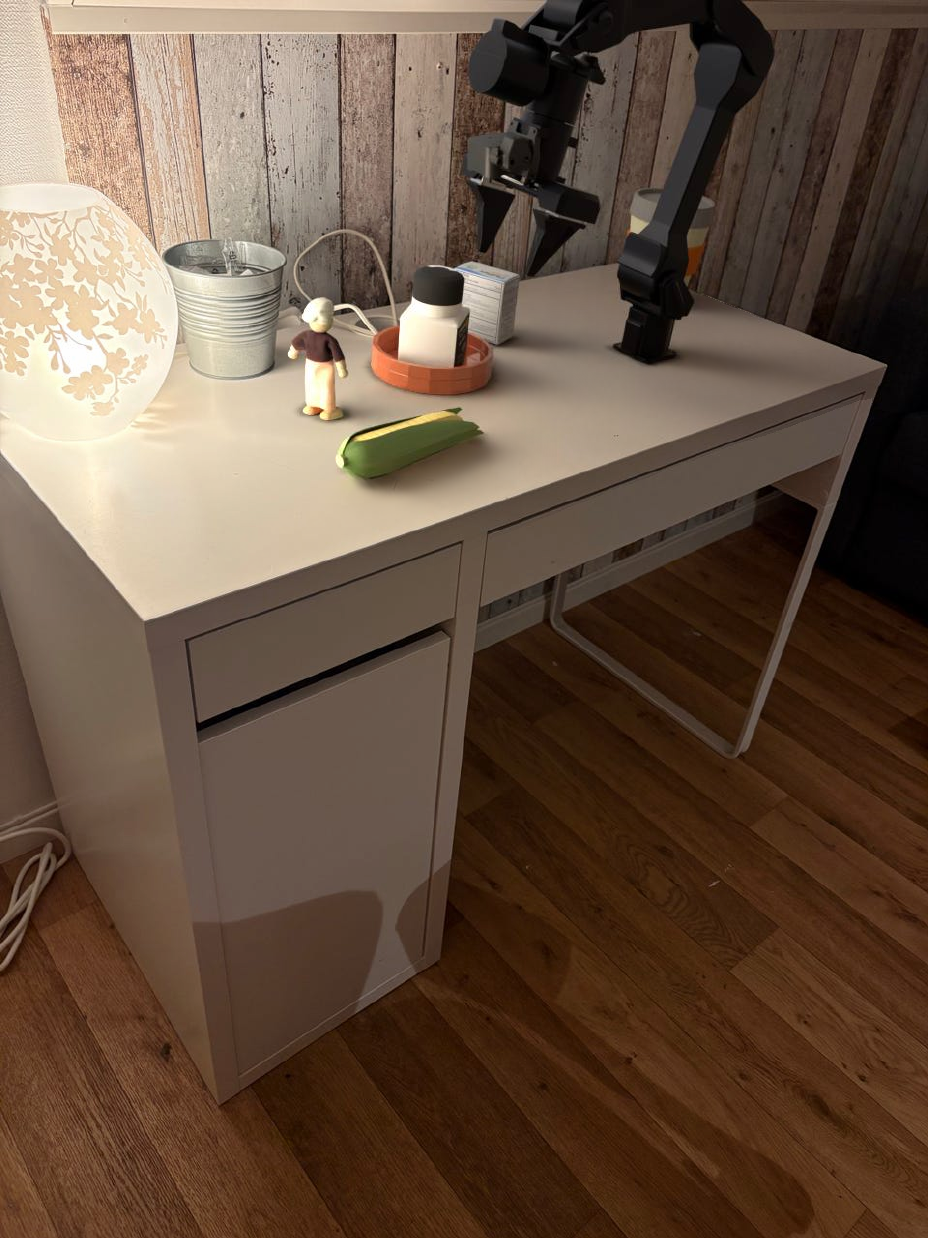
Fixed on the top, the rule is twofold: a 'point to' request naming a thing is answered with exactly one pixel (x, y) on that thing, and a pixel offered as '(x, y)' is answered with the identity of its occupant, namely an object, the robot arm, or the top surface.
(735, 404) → the top surface
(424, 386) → the plant saucer
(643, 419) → the top surface
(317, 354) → the grandmother figurine
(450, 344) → the medicine bottle
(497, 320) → the medicine box
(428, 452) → the edible corn
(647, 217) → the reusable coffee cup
